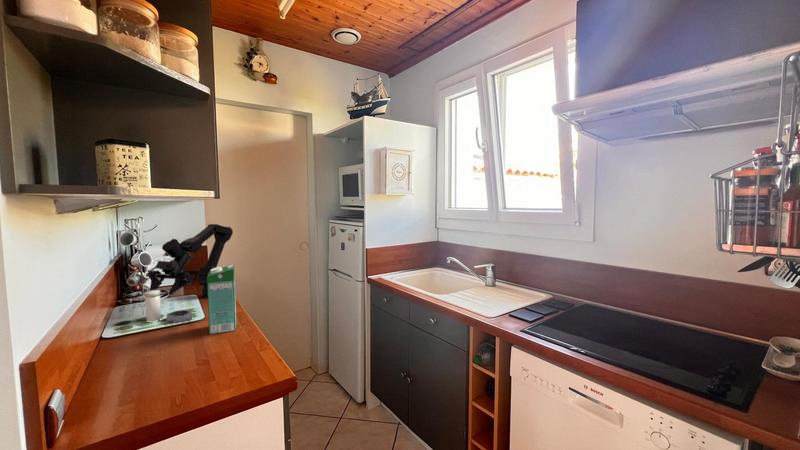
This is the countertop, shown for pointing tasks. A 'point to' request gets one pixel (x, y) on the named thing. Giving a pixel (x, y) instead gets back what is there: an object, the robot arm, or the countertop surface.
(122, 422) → the countertop surface
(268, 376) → the countertop surface
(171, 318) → the collar
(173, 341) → the countertop surface
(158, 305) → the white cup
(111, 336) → the countertop surface
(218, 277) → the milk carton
